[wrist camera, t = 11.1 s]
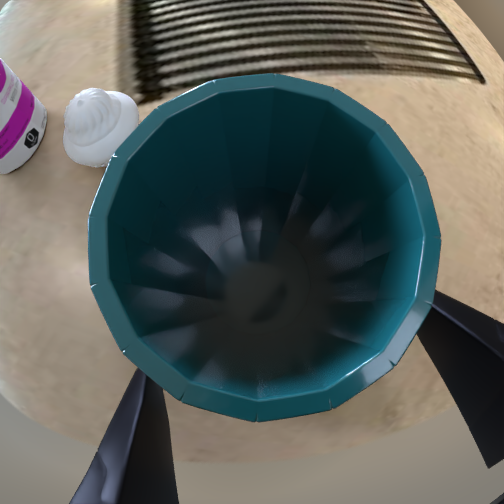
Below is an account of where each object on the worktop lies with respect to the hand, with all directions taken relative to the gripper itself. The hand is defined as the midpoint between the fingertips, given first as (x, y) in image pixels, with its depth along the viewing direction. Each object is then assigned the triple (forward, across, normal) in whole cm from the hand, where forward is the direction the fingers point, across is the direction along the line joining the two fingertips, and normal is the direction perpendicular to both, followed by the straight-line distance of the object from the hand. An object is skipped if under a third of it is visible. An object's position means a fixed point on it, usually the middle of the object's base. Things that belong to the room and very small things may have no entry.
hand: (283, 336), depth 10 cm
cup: (+8, 0, +4) cm, 8 cm away
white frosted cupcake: (+19, +8, -4) cm, 21 cm away
